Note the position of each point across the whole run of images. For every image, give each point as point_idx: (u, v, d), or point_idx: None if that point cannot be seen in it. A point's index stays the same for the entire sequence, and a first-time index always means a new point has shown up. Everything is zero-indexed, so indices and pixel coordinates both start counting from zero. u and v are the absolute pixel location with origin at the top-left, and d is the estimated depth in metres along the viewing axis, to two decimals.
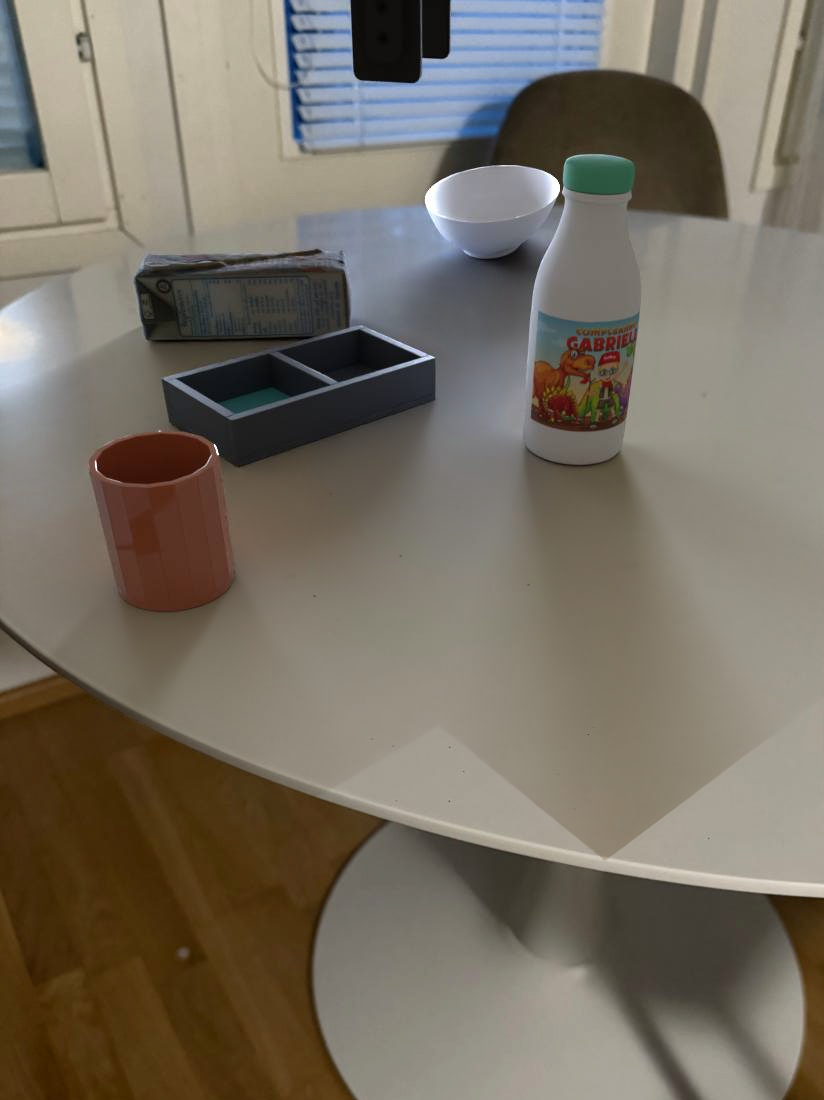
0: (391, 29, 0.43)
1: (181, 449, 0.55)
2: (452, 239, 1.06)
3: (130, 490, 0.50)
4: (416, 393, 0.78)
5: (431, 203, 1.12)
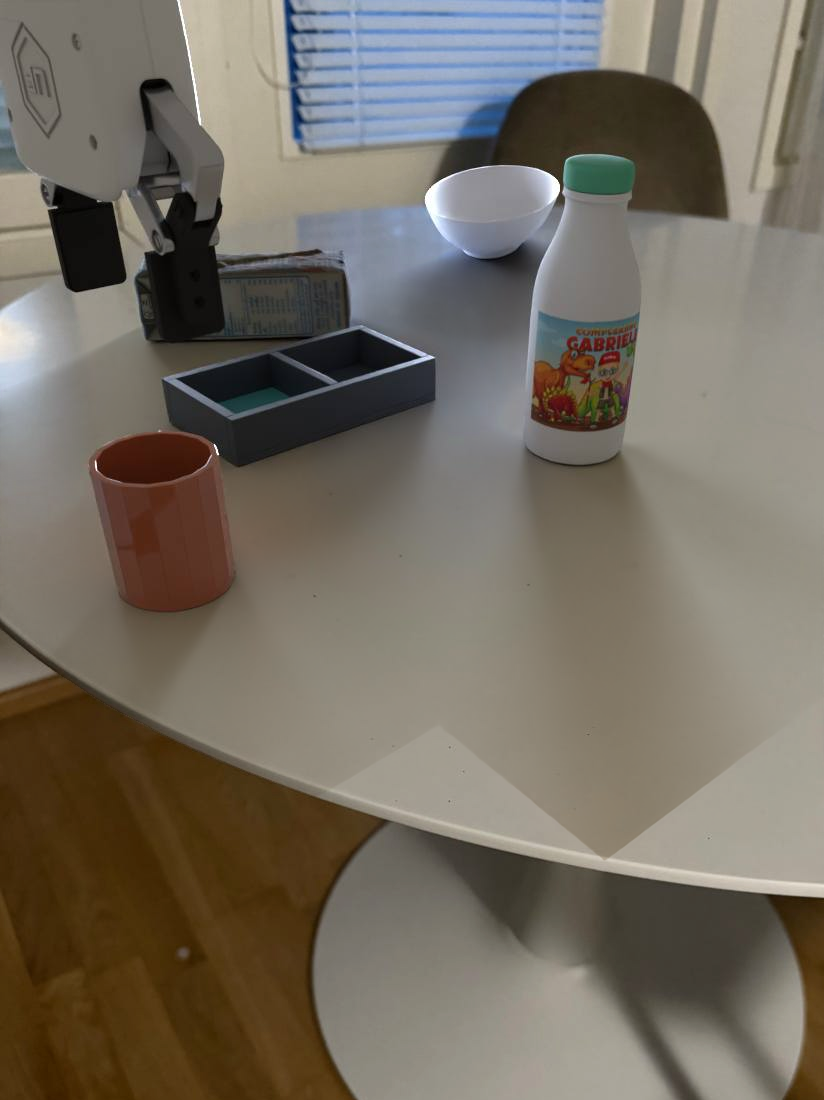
0: (205, 292, 0.43)
1: (181, 449, 0.55)
2: (452, 239, 1.06)
3: (130, 490, 0.50)
4: (416, 393, 0.78)
5: (431, 203, 1.12)
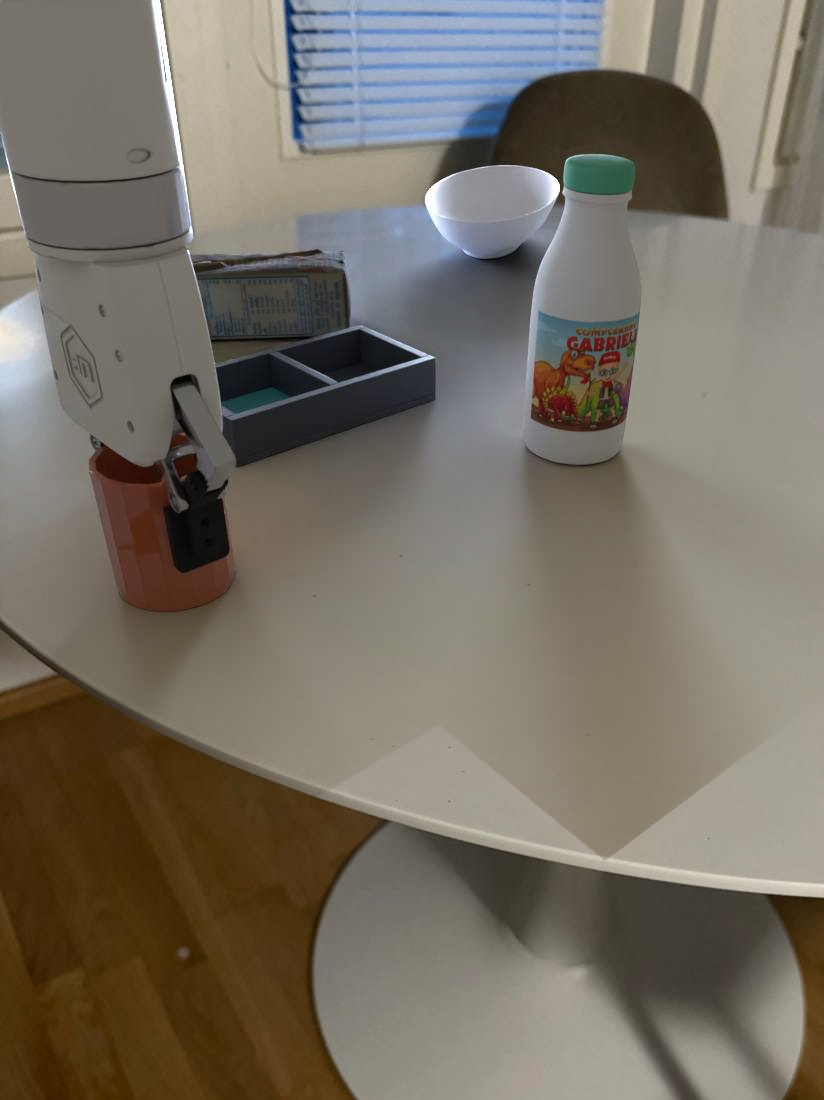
0: (213, 533, 0.52)
1: None
2: (452, 239, 1.06)
3: (130, 490, 0.50)
4: (416, 393, 0.78)
5: (431, 203, 1.12)
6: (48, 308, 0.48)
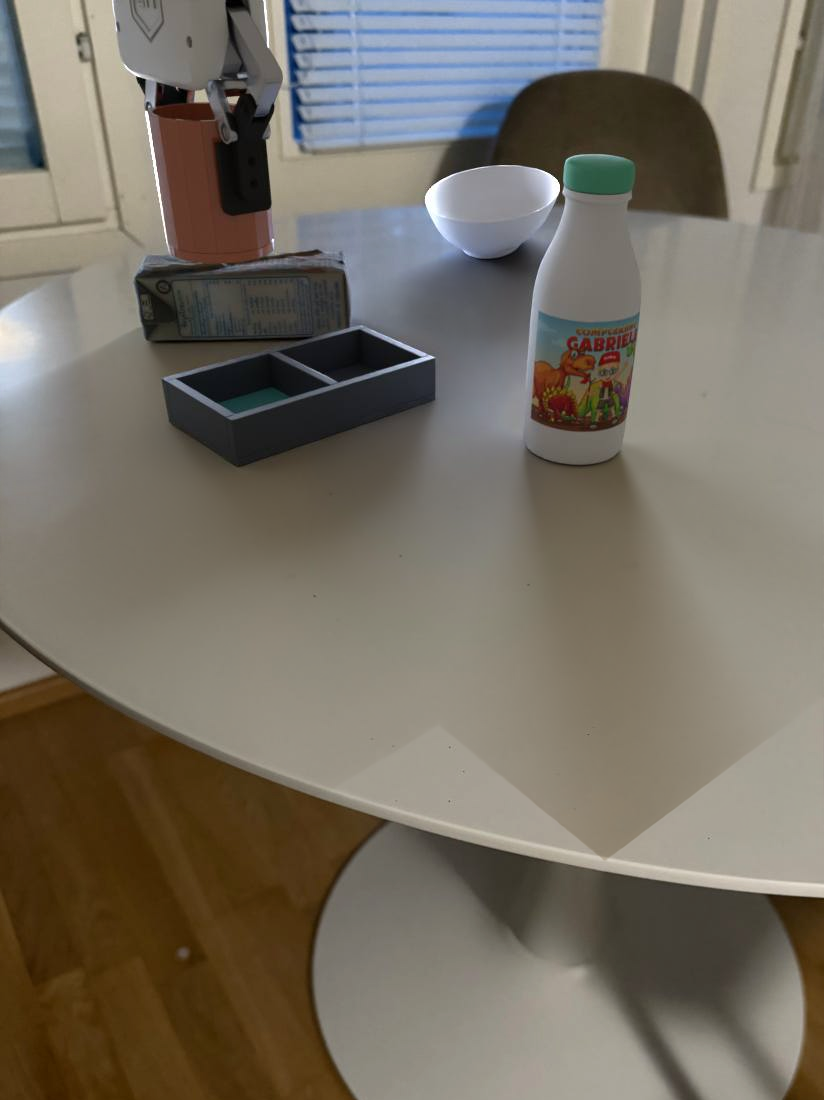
0: (258, 176, 0.57)
1: None
2: (452, 239, 1.06)
3: (185, 124, 0.55)
4: (416, 393, 0.78)
5: (431, 203, 1.12)
6: None
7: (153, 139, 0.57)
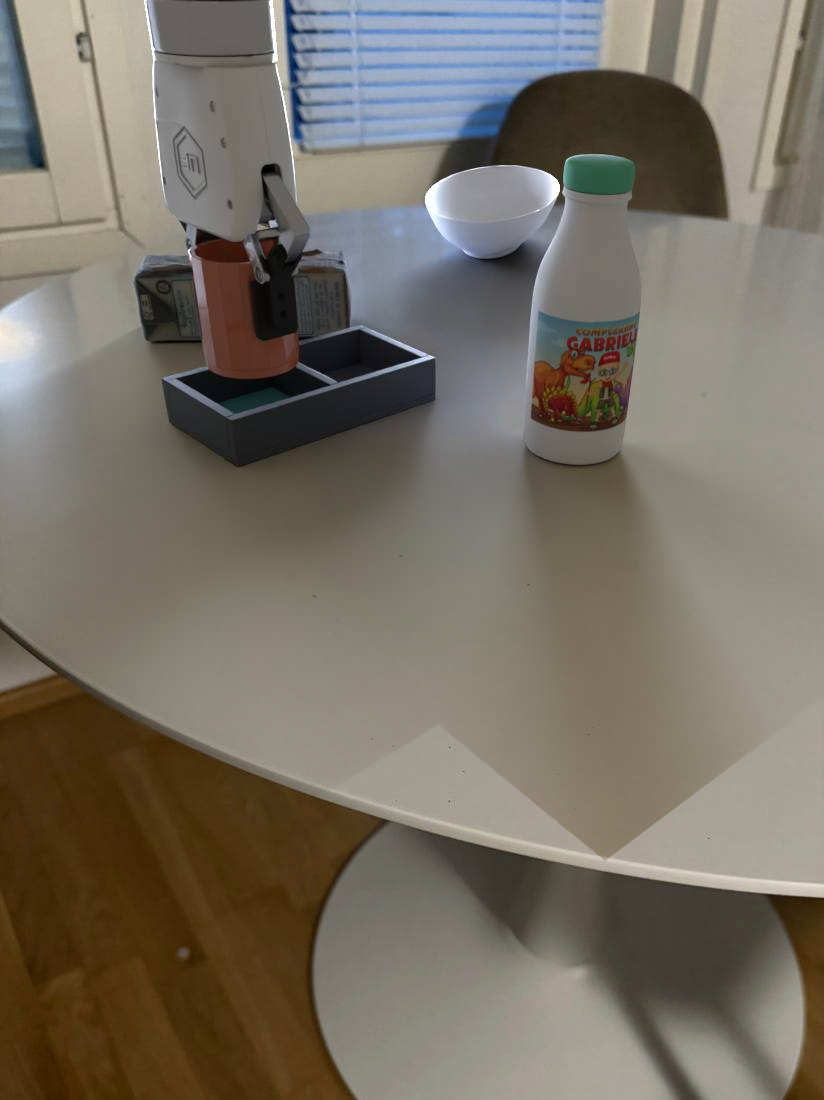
0: (287, 307, 0.66)
1: None
2: (452, 239, 1.06)
3: (224, 266, 0.64)
4: (416, 393, 0.78)
5: (431, 203, 1.12)
6: (163, 119, 0.62)
7: (195, 276, 0.66)
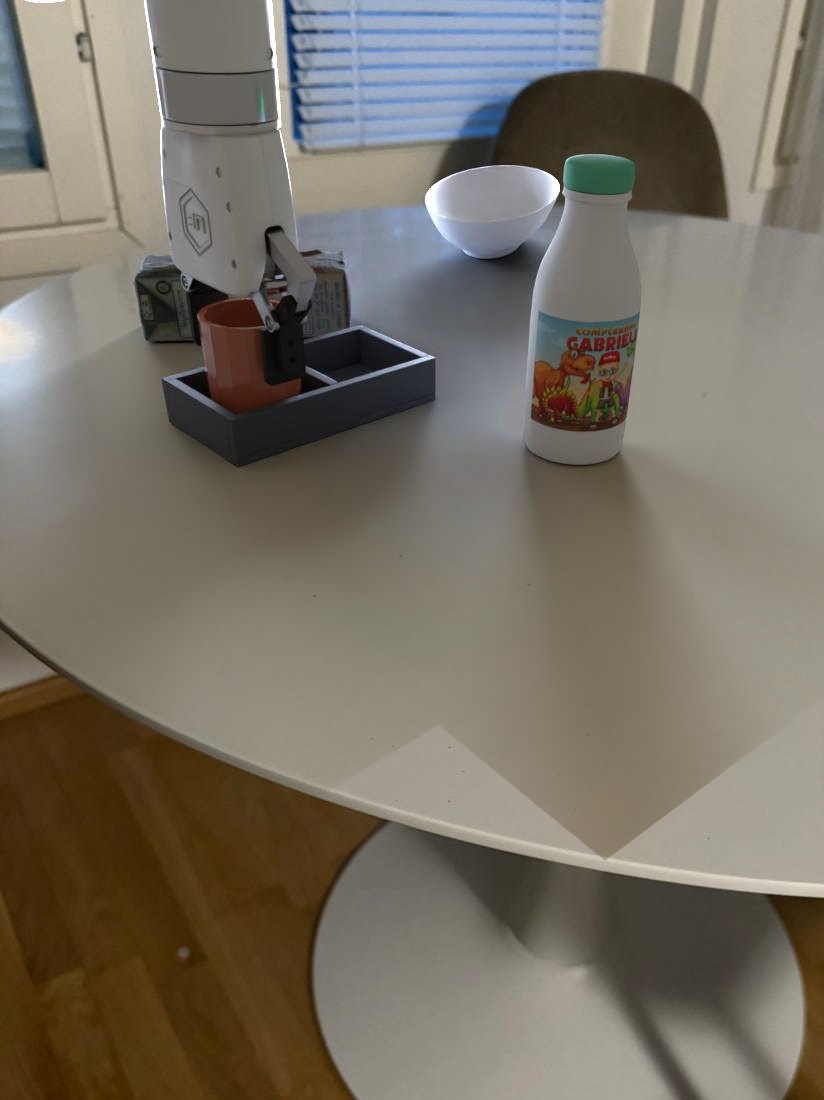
0: (296, 353, 0.67)
1: None
2: (452, 239, 1.06)
3: (232, 331, 0.66)
4: (416, 393, 0.78)
5: (431, 203, 1.12)
6: (170, 179, 0.64)
7: (204, 339, 0.68)
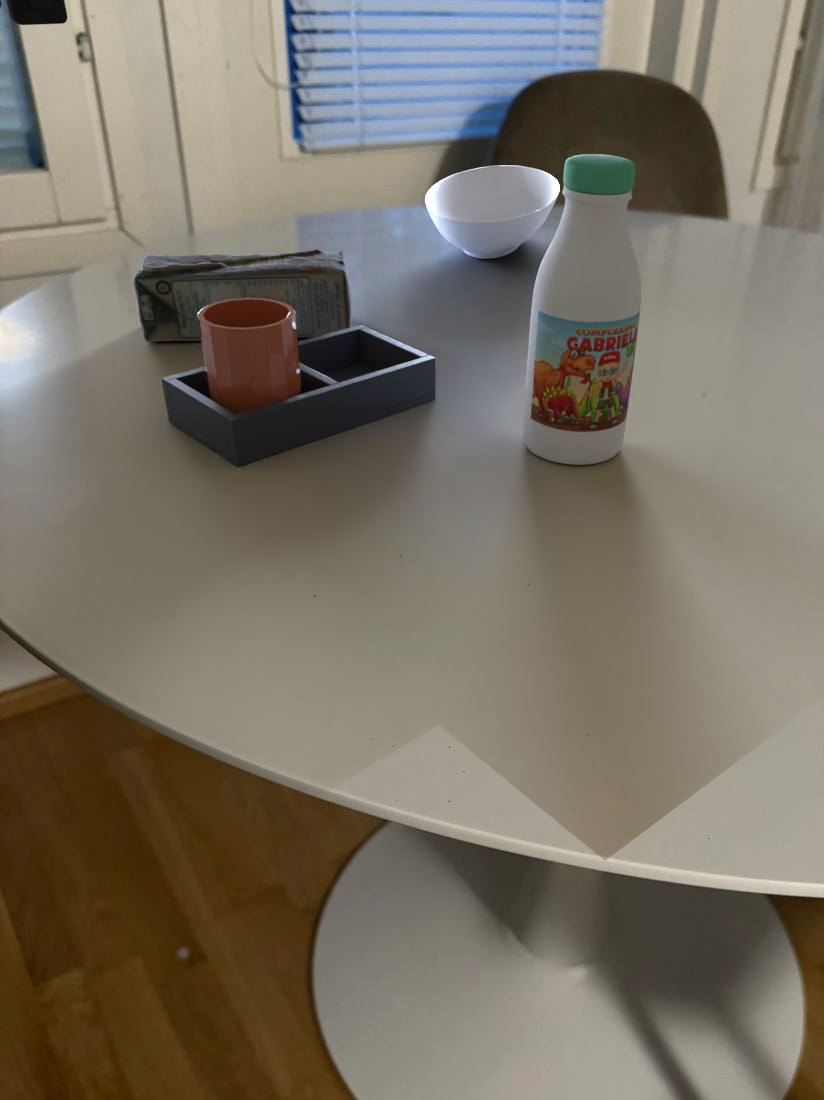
0: None
1: (264, 312, 0.72)
2: (452, 239, 1.06)
3: (232, 331, 0.66)
4: (416, 393, 0.78)
5: (431, 203, 1.12)
6: None
7: (204, 339, 0.68)
